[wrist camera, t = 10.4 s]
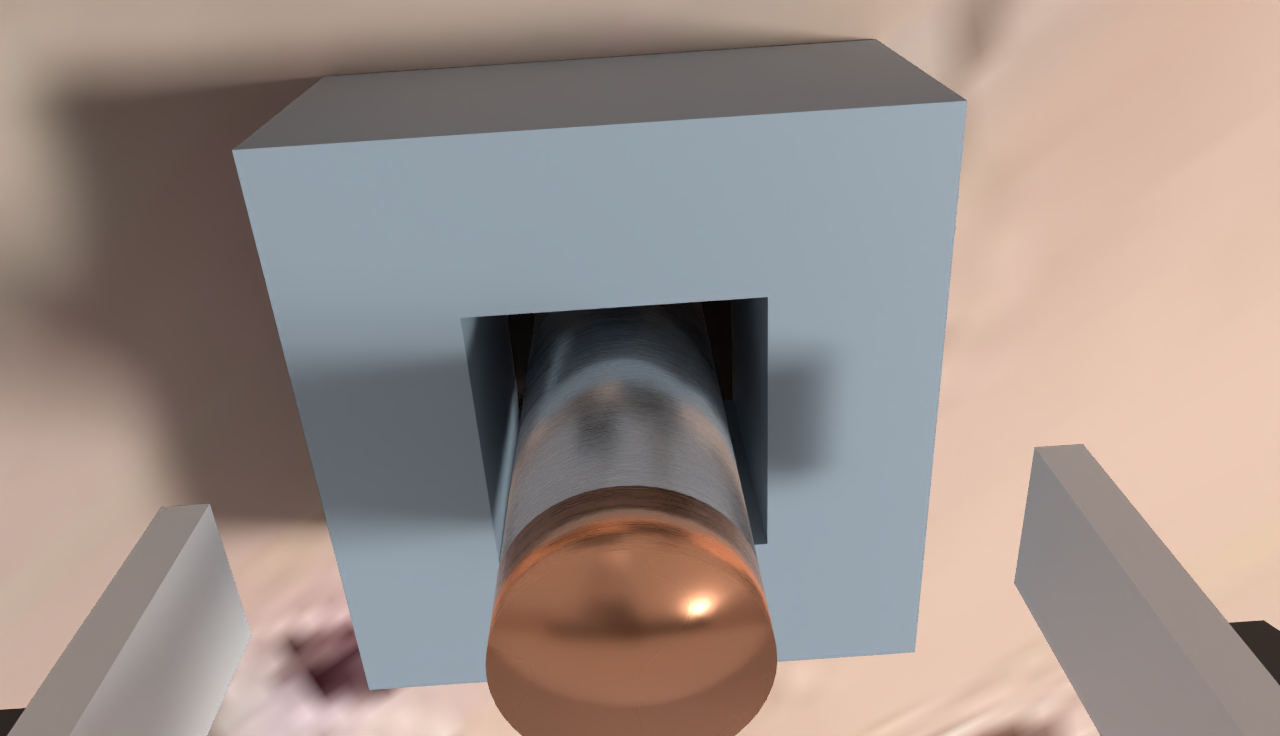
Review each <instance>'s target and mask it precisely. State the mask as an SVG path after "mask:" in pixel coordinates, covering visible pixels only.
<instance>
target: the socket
mask: <svg viewBox="0 0 1280 736" xmlns="http://www.w3.org/2000/svg"><path fill="white" fill-rule="evenodd" d="M966 108H967V100H965V99H964V98H962V97H961V96H959V95H958V94H956V93H955V92H953V91H952V90H950V89H949V88H947V87H946V86H945V85H943V84H942V83H940V82H939V81H937V80H936V79H934V78H933V77H931V76H930V75H928V74H927V73H925V72H924V71H922V70H921V69H919V68H918V67H916V66H915V65H913V64H912V63H910V62H909V61H907V60H906V59H904V58H903V57H902V56H900V55H899V54H897V53H896V52H894V51H893V50H891V49H890V48H888V47H887V46H885V45H884V44H882V43H881V42H879V41H878V40H876V39H874V40H859V41H844V42H829V43H814V44H800V45H785V46H770V47H755V48H740V49H725V50H710V51H695V52H680V53H665V54H650V55H635V56H620V57H605V58H590V59H575V60H560V61H545V62H531V63H516V64H501V65H486V66H471V67H456V68H441V69H426V70H411V71H396V72H381V73H366V74H351V75H336V76H324V77H323V78H321V79H320V80H319V81H318V82H316V83H315V84H314V85H313V86H311V87H310V88H309V89H308V90H306V91H305V92H304V93H303V94H301V95H300V96H299V97H298V98H296V99H295V100H294V101H293V102H291V103H290V104H289V105H288V106H286V107H285V108H284V109H283V110H281V111H280V112H279V113H278V114H276V115H275V116H274V117H273V118H271V119H270V120H269V121H268V122H266V123H265V124H264V125H263V126H261V127H260V128H259V129H258V130H256V131H255V132H254V133H253V134H251V135H250V136H249V137H248V138H246V139H245V140H244V141H243V142H241V143H240V144H239V145H238V146H236V147H235V148H234V149H233V150H232V153H233V157H234V160H235V164H236V168H237V172H238V176H239V180H240V184H241V188H242V192H243V196H244V200H245V204H246V208H247V211H248V215H249V219H250V223H251V227H252V231H253V235H254V239H255V243H256V247H257V251H258V255H259V259H260V262H261V266H262V270H263V274H264V278H265V282H266V286H267V290H268V294H269V298H270V302H271V306H272V310H273V313H274V317H275V321H276V325H277V329H278V333H279V337H280V341H281V345H282V349H283V353H284V357H285V361H286V364H287V368H288V372H289V376H290V380H291V384H292V388H293V392H294V396H295V400H296V404H297V408H298V412H299V415H300V419H301V423H302V427H303V431H304V435H305V439H306V443H307V447H308V451H309V455H310V459H311V463H312V466H313V470H314V474H315V478H316V482H317V486H318V490H319V494H320V498H321V502H322V506H323V510H324V514H325V517H326V521H327V525H328V529H329V533H330V537H331V541H332V545H333V549H334V553H335V557H336V561H337V565H338V568H339V572H340V576H341V580H342V584H343V588H344V592H345V596H346V600H347V604H348V608H349V612H350V616H351V619H352V623H353V627H354V631H355V635H356V639H357V643H358V647H359V651H360V655H361V659H362V663H363V667H364V671H365V674H366V678H367V682H368V686H369V690H375V689H389V688H404V687H418V686H433V685H447V684H462V683H476V682H487V677H486V665H485V664H486V652H487V644H488V638H489V631H490V624H491V617H492V610H493V603H494V596H495V589H496V582H497V575H498V569H499V562H500V555H501V548H502V541H503V534H504V527H505V520H506V513H507V506H508V500H509V493H510V486H511V479H512V472H513V465H514V458H515V451H516V444H517V438H518V431H519V424H520V417H521V414H520V408H519V400H518V393H517V385H516V378H515V370H514V363H513V355H512V348H511V340H510V333H509V325H508V318H507V315H511V314H525V313H540V312H555V311H570V310H584V309H599V308H614V307H629V306H644V305H658V304H673V303H688V302H703V301H717V300H731V324H732V383H733V400H722V401H723V405H724V410H725V414H726V419H727V424H728V428H729V433H730V437H731V442H732V446H733V451H734V455H735V460H736V464H737V469H738V473H739V478H740V482H741V487H742V492H743V496H744V501H745V505H746V510H747V514H748V519H749V523H750V528H751V532H752V537H753V541H754V546H755V550H756V555H757V560H758V564H759V569H760V573H761V578H762V582H763V587H764V591H765V596H766V600H767V605H768V609H769V614H770V618H771V623H772V628H773V632H774V637H775V641H776V648H777V662H780V661H795V660H809V659H824V658H838V657H853V656H867V655H882V654H896V653H911V652H915V643H916V633H917V622H918V612H919V601H920V591H921V580H922V570H923V559H924V549H925V538H926V528H927V517H928V507H929V496H930V486H931V475H932V465H933V454H934V444H935V433H936V423H937V412H938V402H939V391H940V381H941V370H942V360H943V349H944V339H945V328H946V318H947V307H948V297H949V286H950V276H951V265H952V255H953V244H954V234H955V223H956V213H957V202H958V192H959V181H960V171H961V160H962V150H963V139H964V129H965V118H966Z"/></svg>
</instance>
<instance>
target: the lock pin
mask: <svg viewBox="0 0 1280 736" xmlns="http://www.w3.org/2000/svg"><path fill="white" fill-rule="evenodd" d="M485 665H486V677H487V682H488V685H489V689H490V693H491V695H492V697H493V699H494V701H495V704H496V706H497V707H498V709H499V710H500V712H501V713H502V715H503V716H504V718H505V719H506V720H507V721H508V722H509V723H510V724H511V726H512V727H513V728H514V729H515V730H516V731H517V732H519V733H520V734H521V735H522V736H735V735H736V734H737V733H739V732H740V731H741V730H742V729H743V728H744V727H745V726H746V725H748V723H749V722H750V721H751V720H752V719H753V718H754V717H755V715H756V714H757V713H758V712H759V710H760V709H761V707H762V706H763V704H764V703H765V701H766V699H767V697H768V695H769V693H770V690H771V688H772V686H773V682H774V678H775V675H776V667H777V648H776V641H775V637H774V632H773V628H772V623H771V618H770V614H769V609H768V605H767V600H766V596H765V591H764V587H763V582H762V578H761V573H760V569H759V564H758V560H757V555H756V550H755V546H754V541H753V537H752V532H751V528H750V523H749V519H748V514H747V510H746V505H745V501H744V496H743V492H742V487H741V482H740V478H739V473H738V469H737V464H736V460H735V455H734V451H733V446H732V442H731V437H730V433H729V428H728V424H727V419H726V414H725V410H724V405H723V401H722V396H721V392H720V387H719V383H718V378H717V374H716V369H715V365H714V360H713V356H712V351H711V346H710V342H709V337H708V333H707V328H706V324H705V319H704V315H703V310H702V306H701V302H688V303H673V304H658V305H644V306H629V307H614V308H599V309H584V310H570V311H555V312H540V313H535V320H534V327H533V334H532V341H531V348H530V355H529V362H528V369H527V375H526V382H525V389H524V396H523V403H522V410H521V417H520V424H519V431H518V438H517V444H516V451H515V458H514V465H513V472H512V479H511V486H510V493H509V500H508V506H507V513H506V520H505V527H504V534H503V541H502V548H501V555H500V562H499V569H498V575H497V582H496V589H495V596H494V603H493V610H492V617H491V624H490V631H489V638H488V644H487V652H486V664H485Z"/></svg>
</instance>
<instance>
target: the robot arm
mask: <svg viewBox="0 0 1280 736" xmlns="http://www.w3.org/2000/svg"><path fill="white" fill-rule="evenodd" d="M1014 583H1015V585H1016V587H1017V589H1018V591H1019V592H1020V594H1021V596H1022V598H1023V599H1024V601H1025V603H1026V605H1027V606H1028V608H1029V610H1030V612H1031V614H1032V615H1033V617H1034V619H1035V621H1036V622H1037V624H1038V626H1039V628H1040V629H1041V631H1042V633H1043V635H1044V637H1045V638H1046V640H1047V642H1048V644H1049V645H1050V647H1051V649H1052V651H1053V652H1054V654H1055V656H1056V658H1057V659H1058V661H1059V663H1060V665H1061V667H1062V668H1063V670H1064V672H1065V674H1066V675H1067V677H1068V679H1069V681H1070V682H1071V684H1072V686H1073V688H1074V690H1075V691H1076V693H1077V695H1078V697H1079V698H1080V700H1081V702H1082V704H1083V705H1084V707H1085V709H1086V711H1087V712H1088V714H1089V716H1090V718H1091V720H1092V721H1093V723H1094V725H1095V727H1096V728H1097V730H1098V732H1099V734H1100V735H1101V736H1280V631H1279V630H1277V629H1276V628H1274V627H1273V626H1271V625H1270V624H1268V623H1267V622H1265V621H1264V620H1263V621H1248V622H1234V623H1228V622H1227V620H1226V619H1225V618H1224V617H1223V615H1222V614H1221V613H1220V612H1219V610H1218V609H1217V608H1216V607H1215V606H1214V604H1213V603H1212V602H1211V601H1210V599H1209V598H1208V597H1207V596H1206V595H1205V593H1204V592H1203V591H1202V590H1201V588H1200V587H1199V586H1198V585H1197V584H1196V582H1195V581H1194V580H1193V579H1192V577H1191V576H1190V575H1189V574H1188V572H1187V571H1186V570H1185V569H1184V568H1183V566H1182V565H1181V564H1180V563H1179V561H1178V560H1177V559H1176V558H1175V557H1174V555H1173V554H1172V553H1171V552H1170V550H1169V549H1168V548H1167V547H1166V545H1165V544H1164V543H1163V542H1162V541H1161V539H1160V538H1159V537H1158V536H1157V534H1156V533H1155V532H1154V531H1153V530H1152V528H1151V527H1150V526H1149V525H1148V523H1147V522H1146V521H1145V520H1144V519H1143V517H1142V516H1141V515H1140V514H1139V512H1138V511H1137V510H1136V509H1135V507H1134V506H1133V505H1132V504H1131V503H1130V501H1129V500H1128V499H1127V498H1126V496H1125V495H1124V494H1123V493H1122V492H1121V490H1120V489H1119V488H1118V487H1117V485H1116V484H1115V483H1114V482H1113V481H1112V479H1111V478H1110V477H1109V476H1108V474H1107V473H1106V472H1105V471H1104V469H1103V468H1102V467H1101V466H1100V465H1099V463H1098V462H1097V461H1096V460H1095V458H1094V457H1093V456H1092V455H1091V454H1090V452H1089V451H1088V450H1087V449H1086V447H1085V446H1084V445H1083V444H1076V445H1061V446H1046V447H1035V449H1034V455H1033V462H1032V469H1031V475H1030V482H1029V488H1028V495H1027V502H1026V508H1025V515H1024V522H1023V528H1022V535H1021V541H1020V548H1019V555H1018V561H1017V568H1016V574H1015V581H1014ZM251 636H252V634H251V631H250V628H249V625H248V622H247V619H246V616H245V613H244V609H243V606H242V603H241V600H240V597H239V594H238V591H237V588H236V584H235V581H234V578H233V575H232V572H231V569H230V566H229V562H228V559H227V556H226V553H225V550H224V547H223V544H222V541H221V537H220V534H219V531H218V528H217V525H216V522H215V519H214V516H213V512H212V509H211V506H210V504H198V505H183V506H168V507H161V508H160V510H159V511H158V513H157V514H156V516H155V517H154V519H153V520H152V522H151V523H150V525H149V526H148V528H147V529H146V531H145V532H144V534H143V535H142V536H141V538H140V539H139V541H138V542H137V544H136V545H135V547H134V548H133V550H132V551H131V553H130V554H129V556H128V557H127V559H126V560H125V562H124V563H123V565H122V566H121V568H120V569H119V571H118V572H117V574H116V575H115V576H114V578H113V579H112V581H111V582H110V584H109V585H108V587H107V588H106V590H105V591H104V593H103V594H102V596H101V597H100V599H99V600H98V602H97V603H96V605H95V606H94V608H93V609H92V611H91V612H90V614H89V615H88V616H87V618H86V619H85V621H84V622H83V624H82V625H81V627H80V628H79V630H78V631H77V633H76V634H75V636H74V637H73V639H72V640H71V642H70V643H69V645H68V646H67V648H66V649H65V651H64V652H63V654H62V655H61V657H60V658H59V659H58V661H57V662H56V664H55V665H54V667H53V668H52V670H51V671H50V673H49V674H48V676H47V677H46V679H45V680H44V682H43V683H42V685H41V686H40V688H39V689H38V691H37V692H36V694H35V695H34V697H33V698H32V699H31V701H30V702H29V704H28V705H27V707H26V708H21V709H6V710H0V736H207V734H208V732H209V730H210V728H211V725H212V723H213V721H214V719H215V716H216V714H217V712H218V710H219V707H220V705H221V703H222V701H223V699H224V696H225V694H226V692H227V690H228V687H229V685H230V683H231V681H232V678H233V676H234V674H235V672H236V670H237V667H238V665H239V663H240V661H241V658H242V656H243V654H244V652H245V649H246V647H247V645H248V643H249V641H250V638H251Z"/></svg>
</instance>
